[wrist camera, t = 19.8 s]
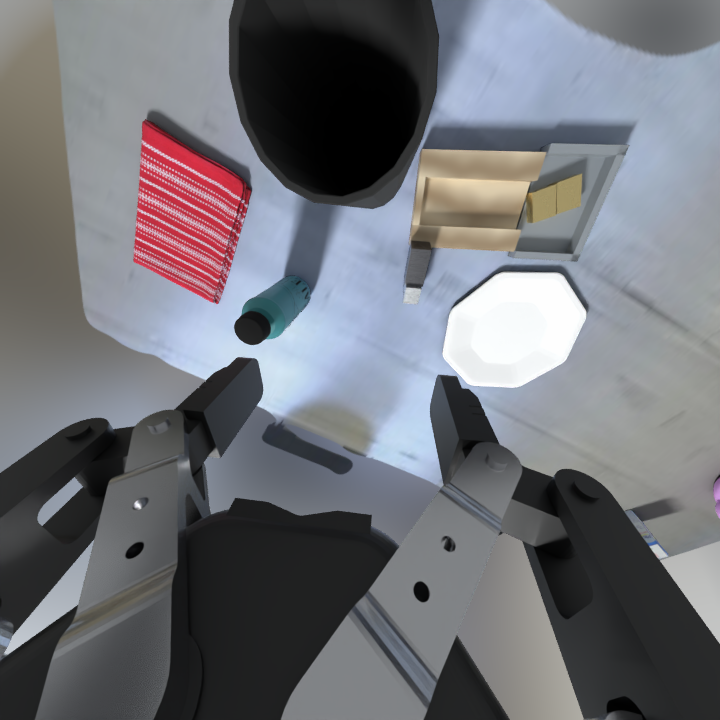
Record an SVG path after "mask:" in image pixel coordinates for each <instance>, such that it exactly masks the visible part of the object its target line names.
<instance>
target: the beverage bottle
mask: <svg viewBox="0 0 720 720" xmlns="http://www.w3.org/2000/svg"><path fill="white" fill-rule="evenodd" d="M310 294H311V293H310V289H309V287H308V285H307V284H306V282H305V281H304V280H302V279H301V278H299V277H296V276H292V275H290V276H288V277H285V278H283V279H282V280H280V281H279V282H277V283H276V284H275V283H274V285H273V286H271V287H270V288H268V289H267V290H265V291H264V292H262V293H260V294H259V295H257V296H256V297H254V298H251V299H250V300H248V301H247V302H246V303H245V304H244V306H243V309H242V315H241V316H240V318H239V319H238V320H237V321H236V322H235V325H234V329H235V333H236V335H237V336H238V338H239V339H240V340H241V341H243V342H244V343H246V344H249V345H256V344H259V343H261V342H262V341H263V340H265V339H273V338H276V337H278V336H279V335H281V334H282V333H283V331H285V330H284V329H286V328H287V326H288V325H289V324H290V325H291V322H292V321H294V319H295V318H296V316H297V315H298V314H299V313H300V312H302V310H304V309H303V308H304V307H305V306H306V305H308V302H309V301H310V299H311V298H310ZM290 325H289V326H290ZM289 326H288V327H289Z"/></svg>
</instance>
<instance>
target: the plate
mask: <svg viewBox="0 0 720 720" xmlns="http://www.w3.org/2000/svg"><path fill="white" fill-rule="evenodd" d="M585 319H586V310H585V308H584V307H583V305H582V303H581V302H580V300H579V299H578V297H577V296H576V294H575V292H574V291H573V289H572V288H571V286H570V285H569V283H568V282H567V280H566V278H565V277H564V275H562V274H560V273H558V272H500V273H498V274H495V275H494V276H493V277H492V278H490V279H489V280H488V281H486V282H485V283H484V284H483V285H481V286H480V287H479V288H477V289H476V290H475V291H474V292H472V293H471V294H470V295H468V296H467V297H466V298H465V299H463V300H462V301H461V302H460V303H458V304H457V305H456V306H454V307H453V308H452V310H451V311H450V313H449V319H448V324H447V330H446V335H445V341H444V346H443V352H442V354H443V357H444V359H445V360H446V361H447V362H448V363H449V364H450V365H451V366H452V367H453V368H454V369H455V370H456V372H457V373H458V374H459V375H460V376H461V377H462V378H463V379H464V380H465V381H466V382H467V383H468V384H470V385H472V386H490V387H509V388H516V387H520V386H522V385H524V384H526V383H527V382H529V381H531V380H533V379H535V378H536V377H538V376H540V375H542V374H544V373H545V372H547V371H549V370H551V369H553V368H554V367H556V366H558V365H560V364H562V363H563V362H564V361H565V360H566V359H567V357H568V355H569V353H570V351H571V349H572V347H573V345H574V342H575V340H576V338H577V336H578V334H579V332H580V330H581V328H582V325H583V323H584V321H585Z"/></svg>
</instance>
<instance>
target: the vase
mask: <svg viewBox="0 0 720 720" xmlns="http://www.w3.org/2000/svg"><path fill="white" fill-rule="evenodd" d="M438 46H439V34H438V29H437V24H436V20H435V15H434V10H433V6H432V1H431V0H234V3H233V7H232V11H231V15H230V19H229V75H230V79H231V84H232V88H233V92H234V96H235V100H236V104H237V109H238V113H239V117H240V121H241V124H242V126H243V128H244V129H245V131H246V133H247V135H248V137H249V139H250V141H251V143H252V145H253V147H254V149H255V151H256V153H257V155H258V157H259V159H260V160H261V162H262V163H263V164H264V165H265V166H266V167H267V168H268V169H269V170H270V171H271V172H272V173H273V174H274V176H275V177H276V178H277V179H278V180H279V181H280V182H281V183H282V184H283V185H284V186H285V187H286V188H288V189H290V190H291V191H293V192H295V193H297V194H299V195H301V196H303V197H304V198H306V199H308V200H310V201H312V202H314V203H323V204H332V205H341V206H350V207H360V208H369V209H374V208H377V207H380V206H384V205H385V204H386V203H388V202H389V201H390V200H391V199H393V198H394V196H395V195H396V193H397V192H398V190H399V189H400V187H401V185H402V183H403V180H404V178H405V176H406V174H407V172H408V169H409V167H410V165H411V163H412V160H413V158H414V156H415V154H416V151H417V149H418V147H419V145H420V142H421V140H422V137H423V134H424V131H425V127H426V124H427V121H428V118H429V114H430V111H431V108H432V104H433V101H434V98H435V95H436V88H437V67H438Z"/></svg>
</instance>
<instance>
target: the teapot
mask: <svg viewBox="0 0 720 720" xmlns="http://www.w3.org/2000/svg"><path fill="white" fill-rule="evenodd" d="M713 491H714V498H715V500H716V502H717V504H716V506H715V507H716V512H717V515H718V516H719V518H720V477H719V478H718V479H717V480H716V482H715V484H714V489H713Z"/></svg>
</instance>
